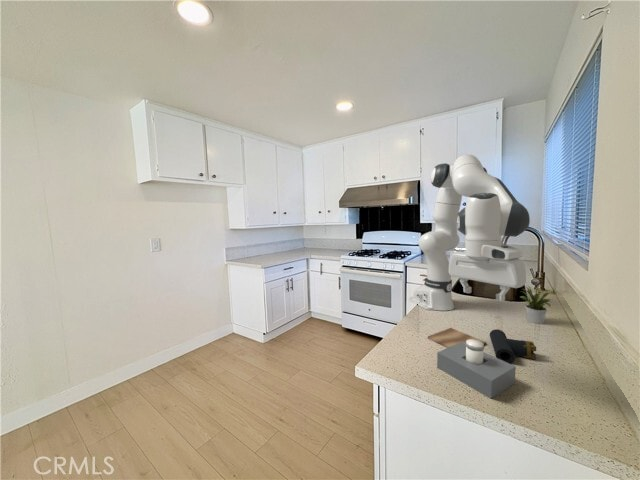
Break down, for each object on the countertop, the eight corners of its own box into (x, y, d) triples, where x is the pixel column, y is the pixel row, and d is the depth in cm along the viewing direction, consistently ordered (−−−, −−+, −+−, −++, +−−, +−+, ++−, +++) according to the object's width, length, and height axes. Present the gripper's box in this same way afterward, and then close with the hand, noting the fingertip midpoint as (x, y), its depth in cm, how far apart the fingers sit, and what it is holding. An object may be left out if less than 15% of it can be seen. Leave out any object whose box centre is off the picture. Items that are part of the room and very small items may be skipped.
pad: (427, 338, 99) (427, 336, 99) (450, 329, 106) (450, 327, 106) (462, 355, 87) (462, 353, 87) (486, 344, 93) (486, 342, 93)
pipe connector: (528, 332, 91) (541, 354, 77) (528, 347, 91) (541, 370, 78) (489, 327, 96) (496, 347, 82) (489, 341, 96) (495, 362, 83)
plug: (461, 373, 77) (462, 341, 76) (470, 368, 80) (471, 337, 78) (477, 381, 73) (478, 348, 72) (486, 376, 76) (487, 344, 75)
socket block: (437, 367, 81) (437, 352, 80) (460, 356, 86) (461, 342, 86) (490, 398, 67) (491, 380, 66) (514, 383, 72) (515, 366, 72)
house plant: (507, 320, 112) (508, 284, 110) (514, 312, 121) (516, 278, 119) (550, 331, 101) (553, 291, 100) (555, 320, 110) (557, 283, 109)
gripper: (443, 248, 82) (444, 290, 83) (516, 254, 64) (516, 308, 65) (456, 246, 85) (457, 287, 86) (529, 251, 66) (529, 303, 67)
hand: (482, 296), depth 75 cm, fingers open, 8 cm apart
